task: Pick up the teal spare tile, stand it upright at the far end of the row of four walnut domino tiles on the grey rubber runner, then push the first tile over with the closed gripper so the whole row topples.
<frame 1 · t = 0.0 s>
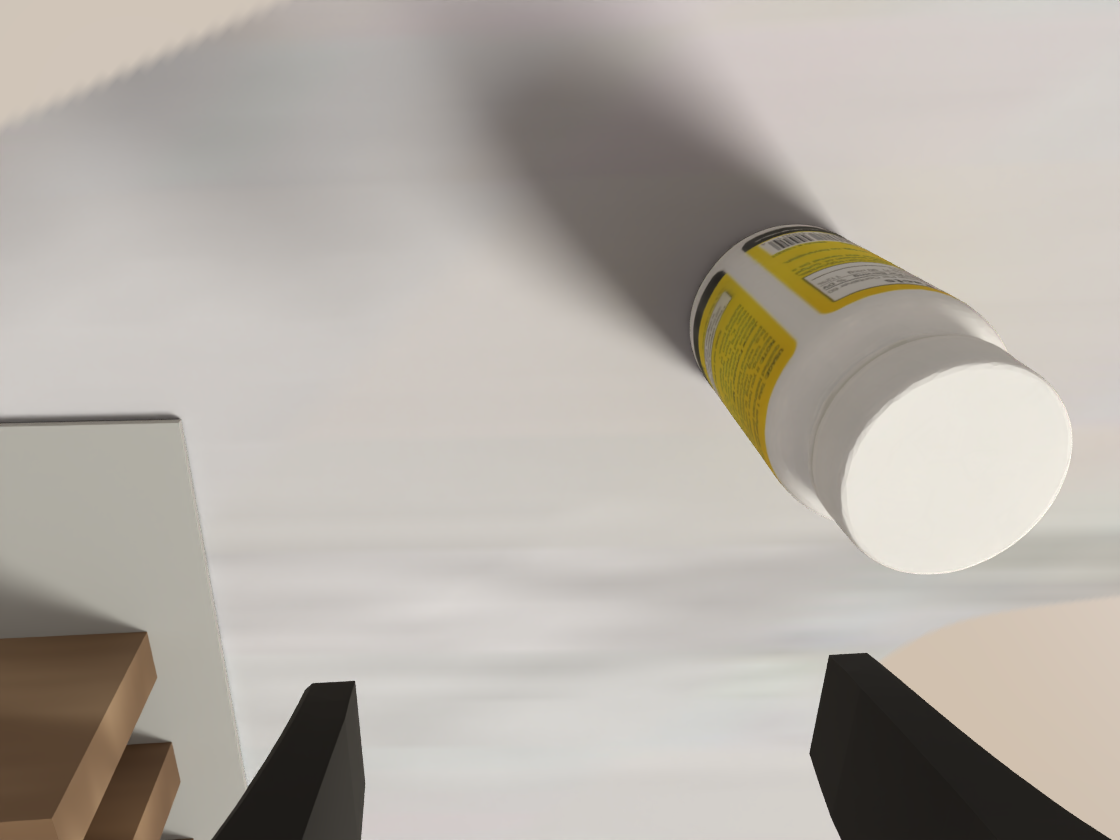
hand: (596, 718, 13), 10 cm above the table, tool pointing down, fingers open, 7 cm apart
tile 3: (90, 767, 25), resting on runner mat
runner mat: (93, 762, 25), on the table
tile 4: (59, 659, 23), resting on runner mat
supplement bottle: (776, 312, 22), on the table
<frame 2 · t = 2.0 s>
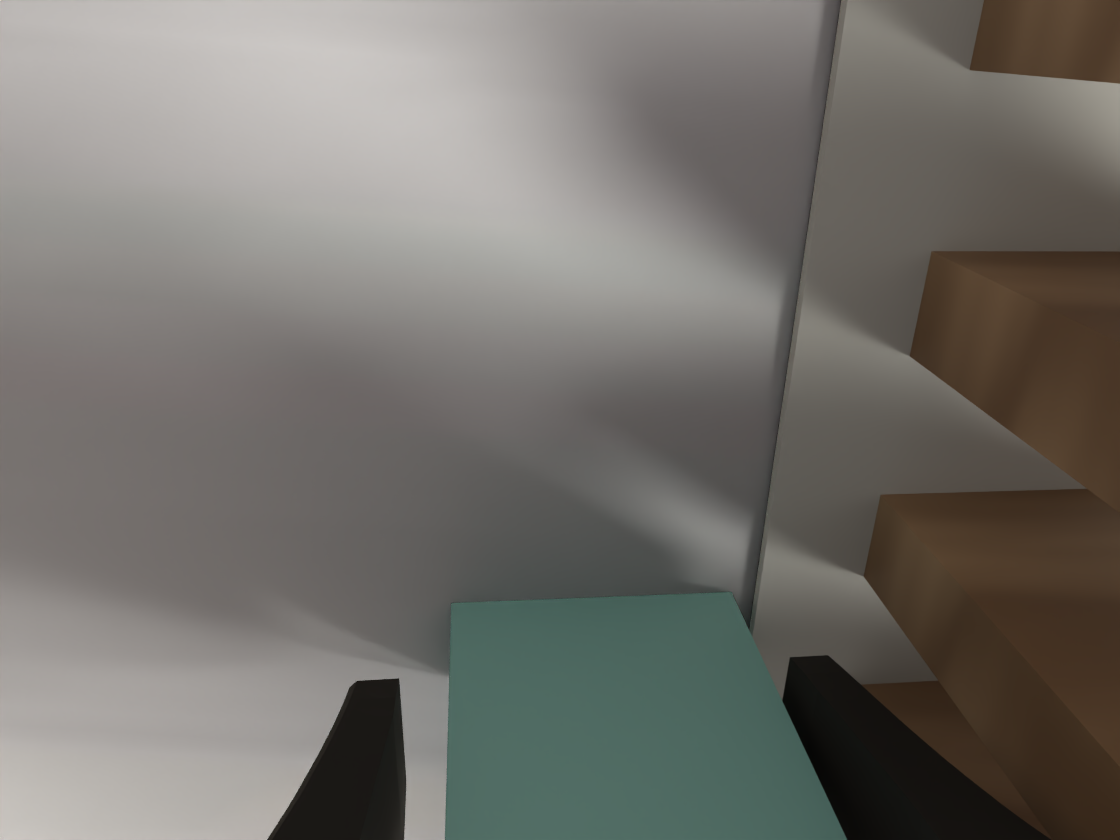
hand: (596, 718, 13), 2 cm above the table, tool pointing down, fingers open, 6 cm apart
tile 3: (1072, 304, 13), resting on runner mat
tile 2: (1007, 531, 14), resting on runner mat, touching gripper
runner mat: (1064, 300, 13), on the table
tile 1: (955, 712, 16), resting on runner mat, touching gripper
tile 5: (591, 634, 15), on the table
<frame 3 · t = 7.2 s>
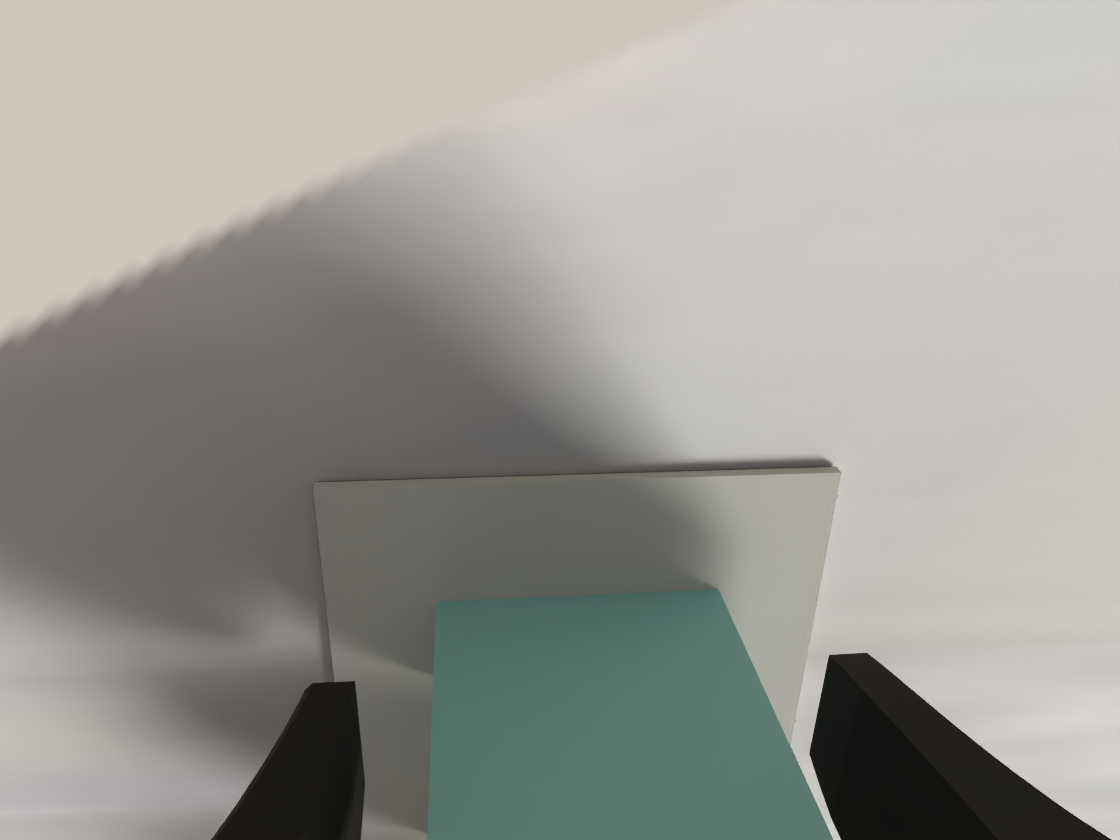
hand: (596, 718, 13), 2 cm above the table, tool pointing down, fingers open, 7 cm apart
tile 5: (578, 633, 15), resting on runner mat
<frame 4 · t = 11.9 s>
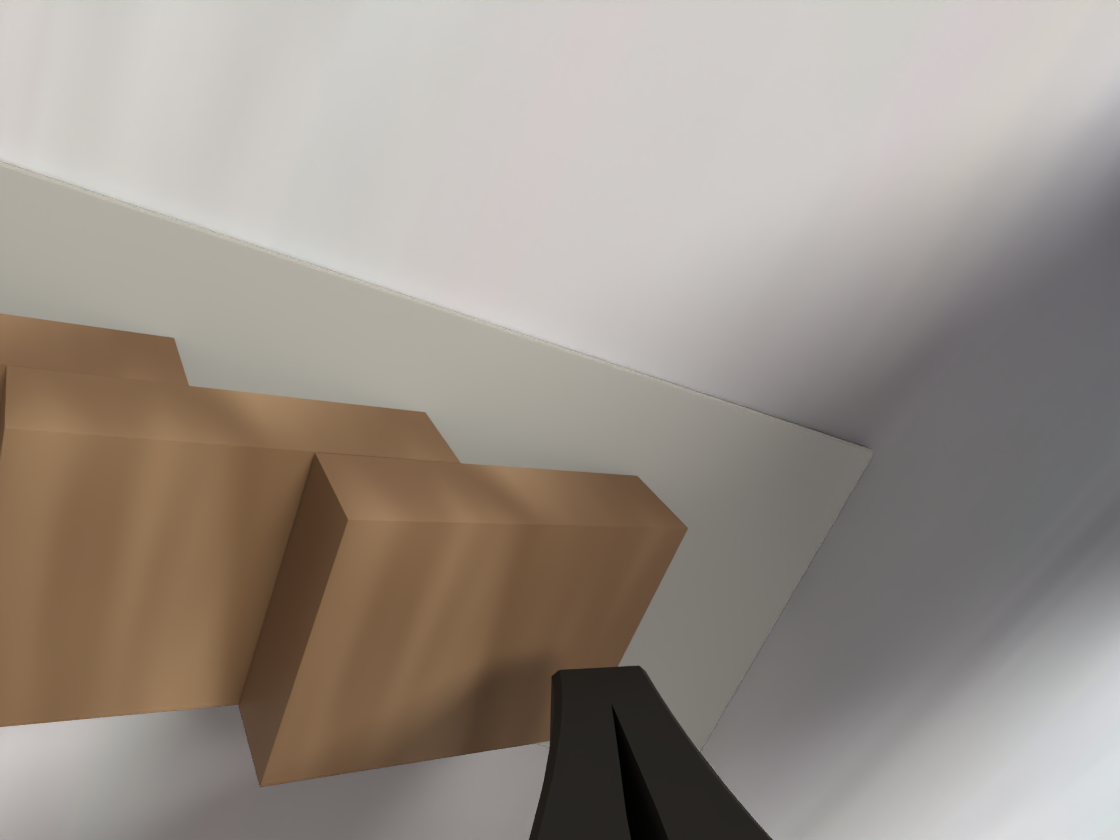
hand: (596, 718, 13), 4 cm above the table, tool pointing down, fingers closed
tile 3: (151, 492, 14), point 1 cm above the table, tilted 67°, touching tile 2, tile 4
tile 2: (399, 554, 15), point 1 cm above the table, tilted 67°, touching runner mat, tile 1, tile 3
runner mat: (220, 478, 15), on the table
tile 1: (609, 608, 16), point 1 cm above the table, tilted 66°, touching runner mat, tile 2
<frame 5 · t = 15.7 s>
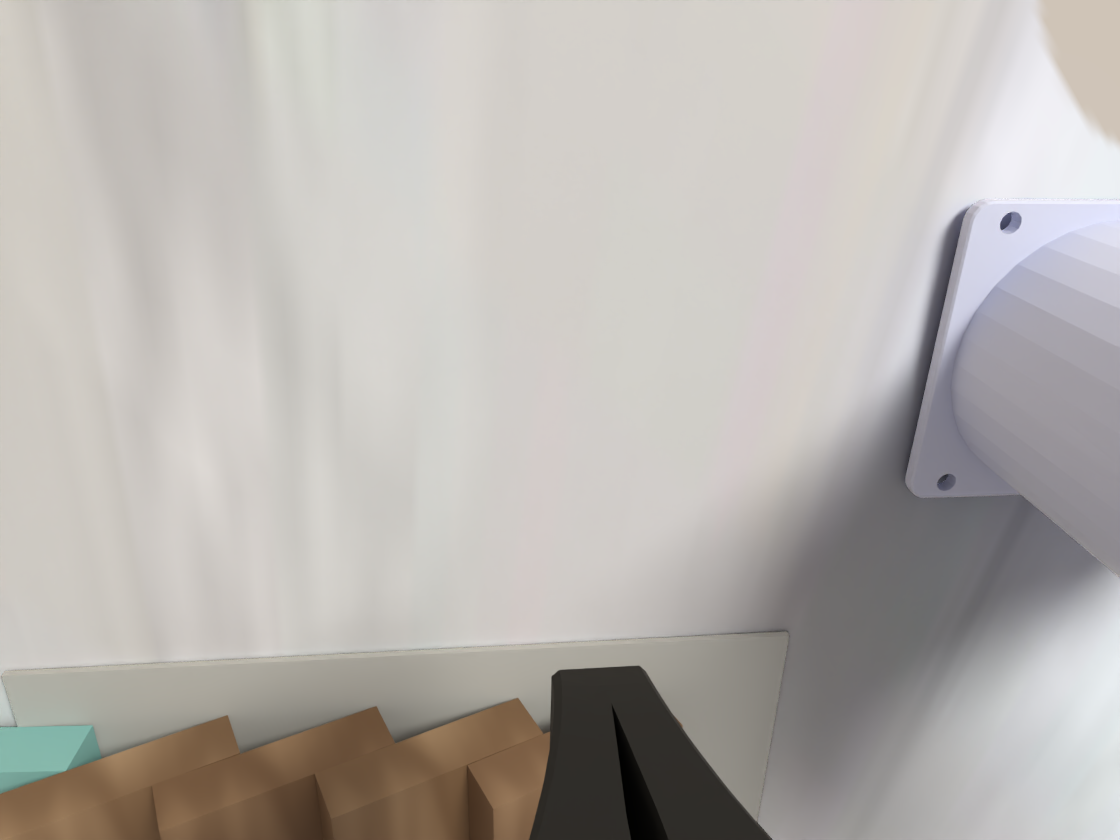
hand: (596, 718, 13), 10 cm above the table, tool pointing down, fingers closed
tile 3: (390, 785, 25), point 1 cm above the table, tilted 67°, touching runner mat, tile 2, tile 4
tile 2: (529, 776, 26), point 1 cm above the table, tilted 67°, touching runner mat, tile 1, tile 3
runner mat: (421, 758, 26), on the table
tile 4: (245, 795, 25), point 1 cm above the table, tilted 65°, touching runner mat, tile 3, tile 5
tile 1: (660, 767, 26), point 1 cm above the table, tilted 66°, touching runner mat, tile 2
tile 5: (97, 810, 24), point 1 cm above the table, tilted 93°, touching runner mat, tile 4
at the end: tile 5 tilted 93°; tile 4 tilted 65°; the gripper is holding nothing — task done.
